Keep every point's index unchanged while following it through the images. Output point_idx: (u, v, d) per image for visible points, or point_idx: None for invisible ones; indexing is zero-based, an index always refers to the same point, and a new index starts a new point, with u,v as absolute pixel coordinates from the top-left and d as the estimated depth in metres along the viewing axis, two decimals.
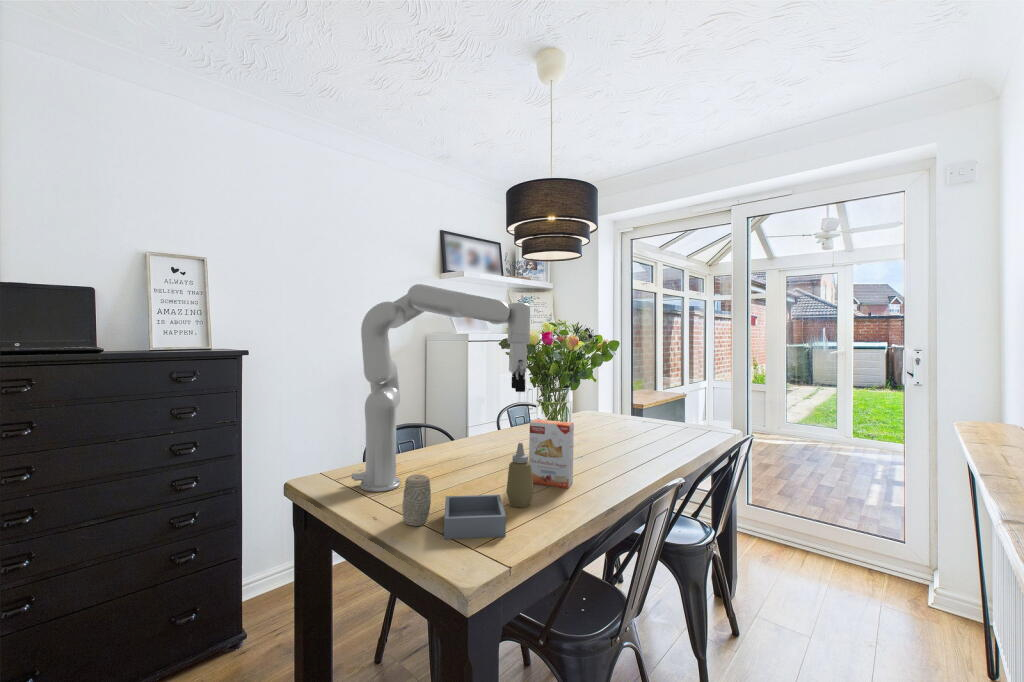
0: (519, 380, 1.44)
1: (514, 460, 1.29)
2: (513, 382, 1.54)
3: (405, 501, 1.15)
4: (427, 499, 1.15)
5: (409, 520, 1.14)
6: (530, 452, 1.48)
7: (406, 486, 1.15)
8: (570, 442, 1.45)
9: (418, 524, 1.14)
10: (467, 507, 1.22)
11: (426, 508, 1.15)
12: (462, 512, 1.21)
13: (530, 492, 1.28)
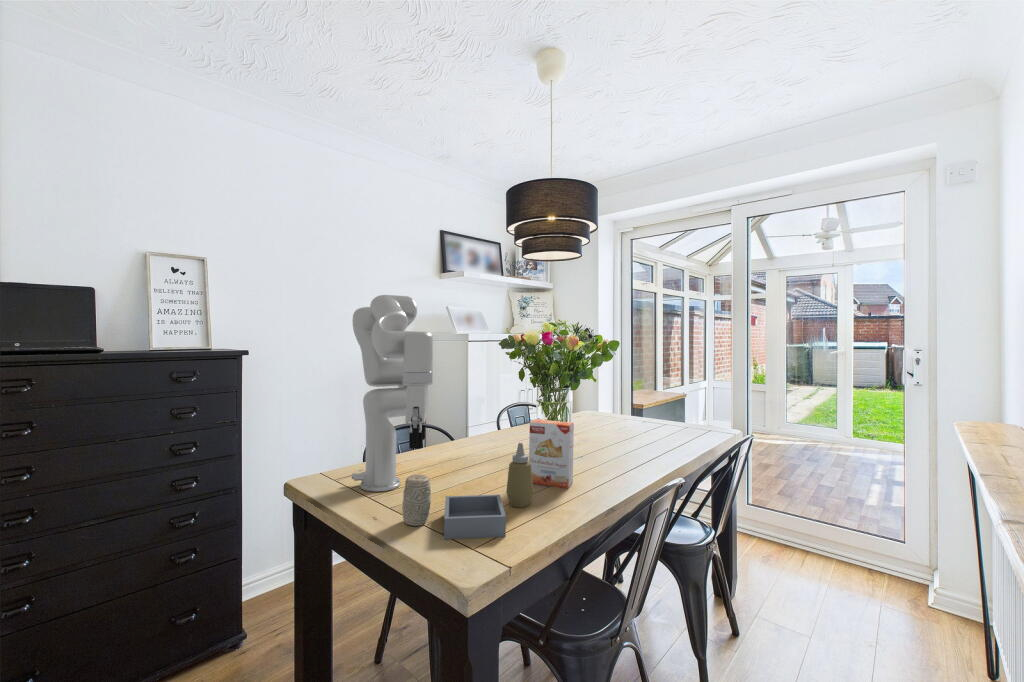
0: (413, 434, 1.10)
1: (514, 460, 1.29)
2: None
3: (405, 501, 1.15)
4: (427, 499, 1.15)
5: (409, 520, 1.14)
6: (530, 452, 1.48)
7: (406, 486, 1.15)
8: (570, 442, 1.45)
9: (418, 524, 1.14)
10: (467, 507, 1.22)
11: (426, 508, 1.15)
12: (462, 512, 1.21)
13: (530, 492, 1.28)
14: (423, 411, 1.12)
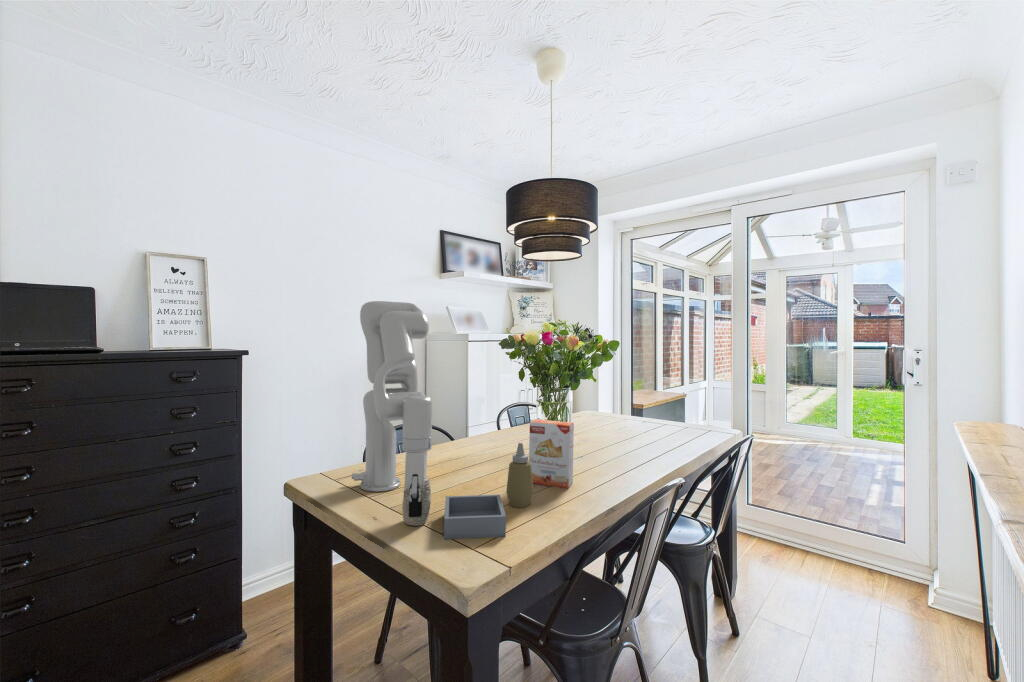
0: (413, 503, 1.12)
1: (514, 460, 1.29)
2: None
3: (405, 501, 1.15)
4: (427, 499, 1.15)
5: (409, 520, 1.14)
6: (530, 452, 1.48)
7: None
8: (570, 442, 1.45)
9: (418, 524, 1.14)
10: (467, 507, 1.22)
11: (426, 508, 1.15)
12: (462, 512, 1.21)
13: (530, 492, 1.28)
14: (422, 478, 1.12)
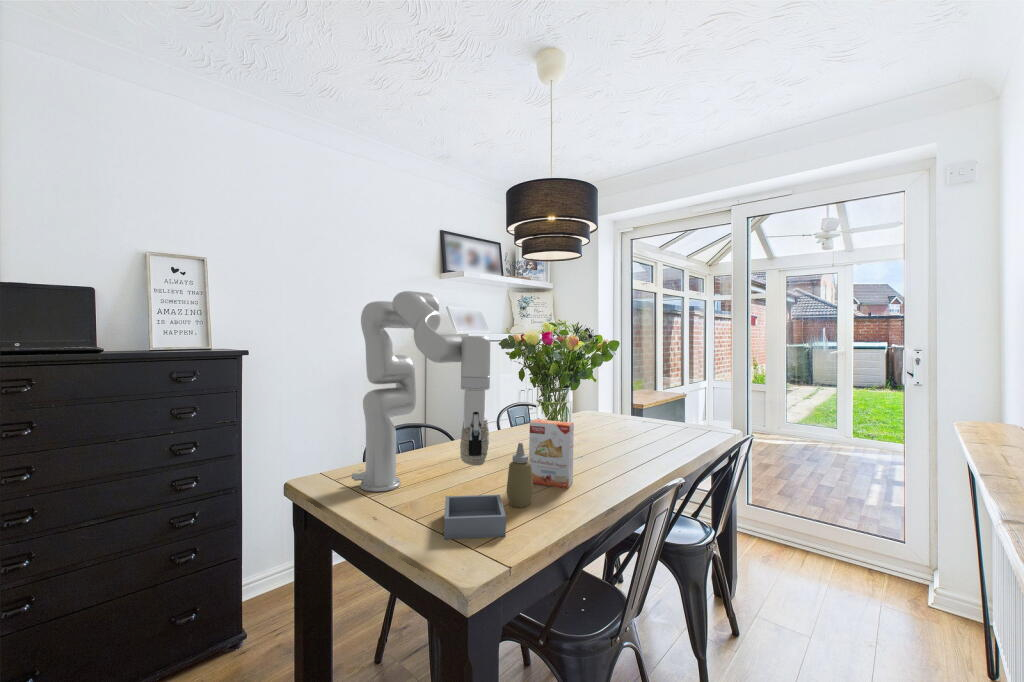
0: (473, 441, 1.11)
1: (514, 460, 1.29)
2: None
3: (464, 441, 1.14)
4: (486, 439, 1.14)
5: (468, 459, 1.13)
6: (530, 452, 1.48)
7: None
8: (570, 442, 1.45)
9: (477, 464, 1.13)
10: (467, 507, 1.22)
11: (485, 448, 1.13)
12: (462, 512, 1.21)
13: (530, 492, 1.28)
14: (483, 416, 1.11)
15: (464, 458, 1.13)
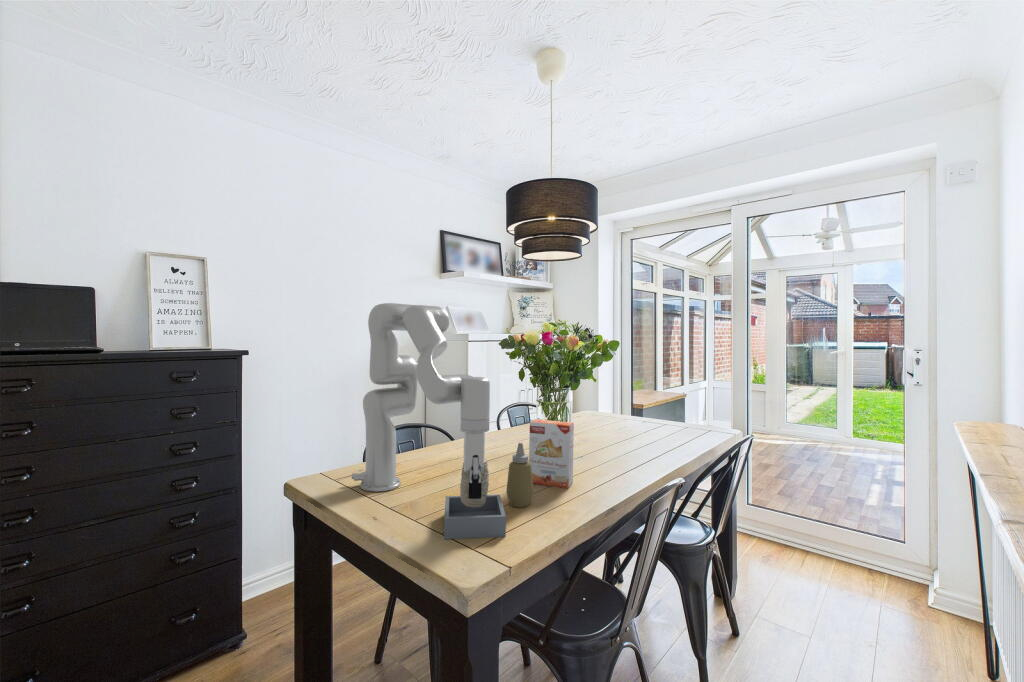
0: (473, 484, 1.11)
1: (514, 460, 1.29)
2: None
3: (464, 483, 1.14)
4: (486, 481, 1.14)
5: (468, 502, 1.13)
6: (530, 452, 1.48)
7: None
8: (570, 442, 1.45)
9: (477, 506, 1.13)
10: (467, 507, 1.22)
11: (485, 490, 1.13)
12: (462, 512, 1.21)
13: (530, 492, 1.28)
14: (482, 459, 1.11)
15: (464, 500, 1.13)
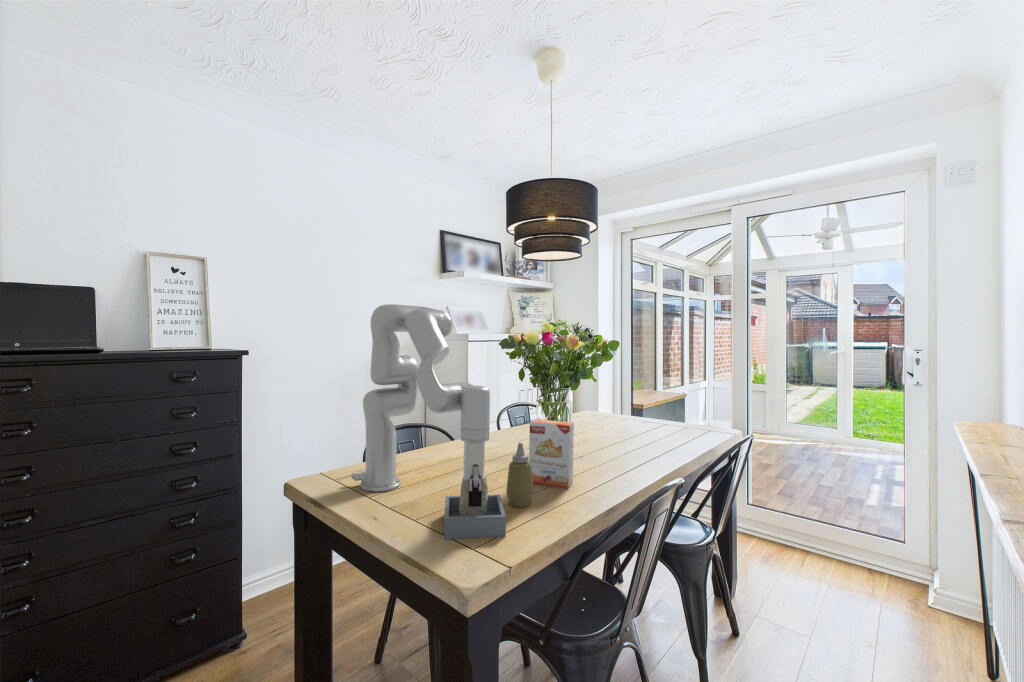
0: (473, 492, 1.10)
1: (514, 460, 1.29)
2: None
3: (463, 499, 1.14)
4: (485, 497, 1.14)
5: None
6: (530, 452, 1.48)
7: (464, 484, 1.14)
8: (570, 442, 1.45)
9: None
10: None
11: (484, 506, 1.14)
12: None
13: (530, 492, 1.28)
14: (482, 469, 1.11)
15: None
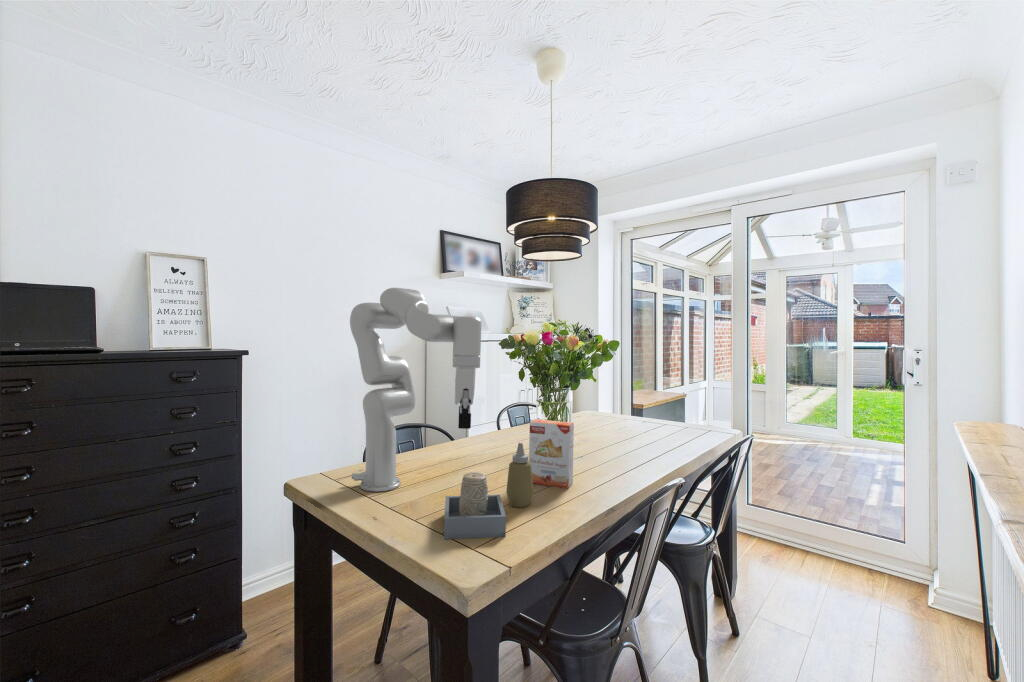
0: (463, 414, 1.15)
1: (514, 460, 1.29)
2: None
3: (463, 499, 1.14)
4: (485, 497, 1.14)
5: None
6: (530, 452, 1.48)
7: (464, 484, 1.14)
8: (570, 442, 1.45)
9: None
10: None
11: (484, 506, 1.14)
12: None
13: (530, 492, 1.28)
14: (472, 393, 1.16)
15: None
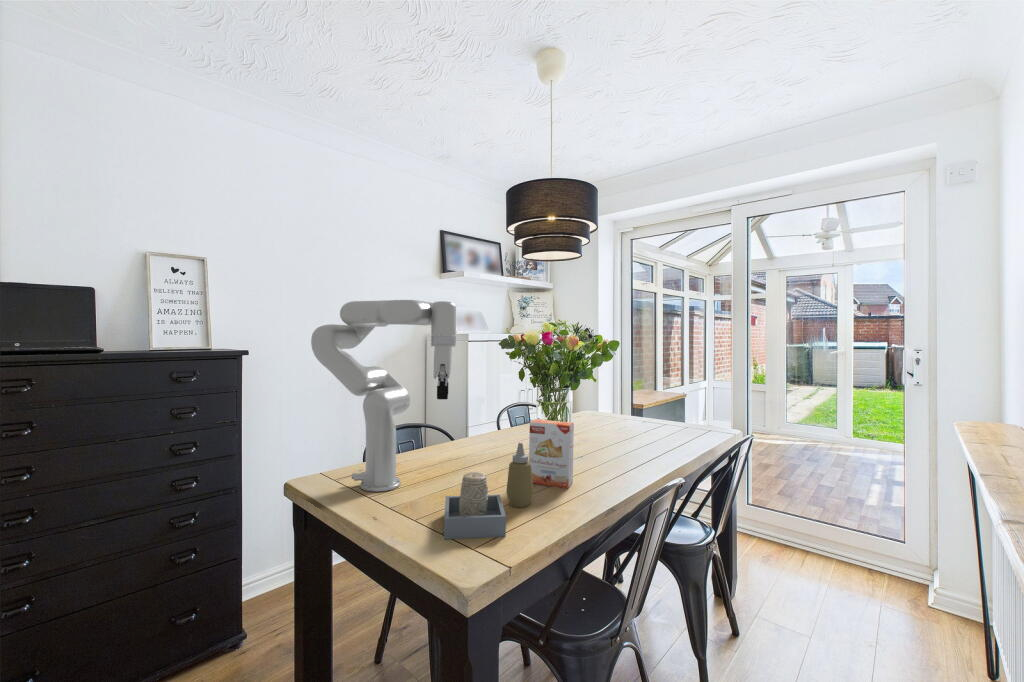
0: (440, 386, 1.31)
1: (514, 460, 1.29)
2: None
3: (463, 499, 1.14)
4: (485, 497, 1.14)
5: None
6: (530, 452, 1.48)
7: (464, 484, 1.14)
8: (570, 442, 1.45)
9: None
10: None
11: (484, 506, 1.14)
12: None
13: (530, 492, 1.28)
14: (448, 368, 1.32)
15: None
